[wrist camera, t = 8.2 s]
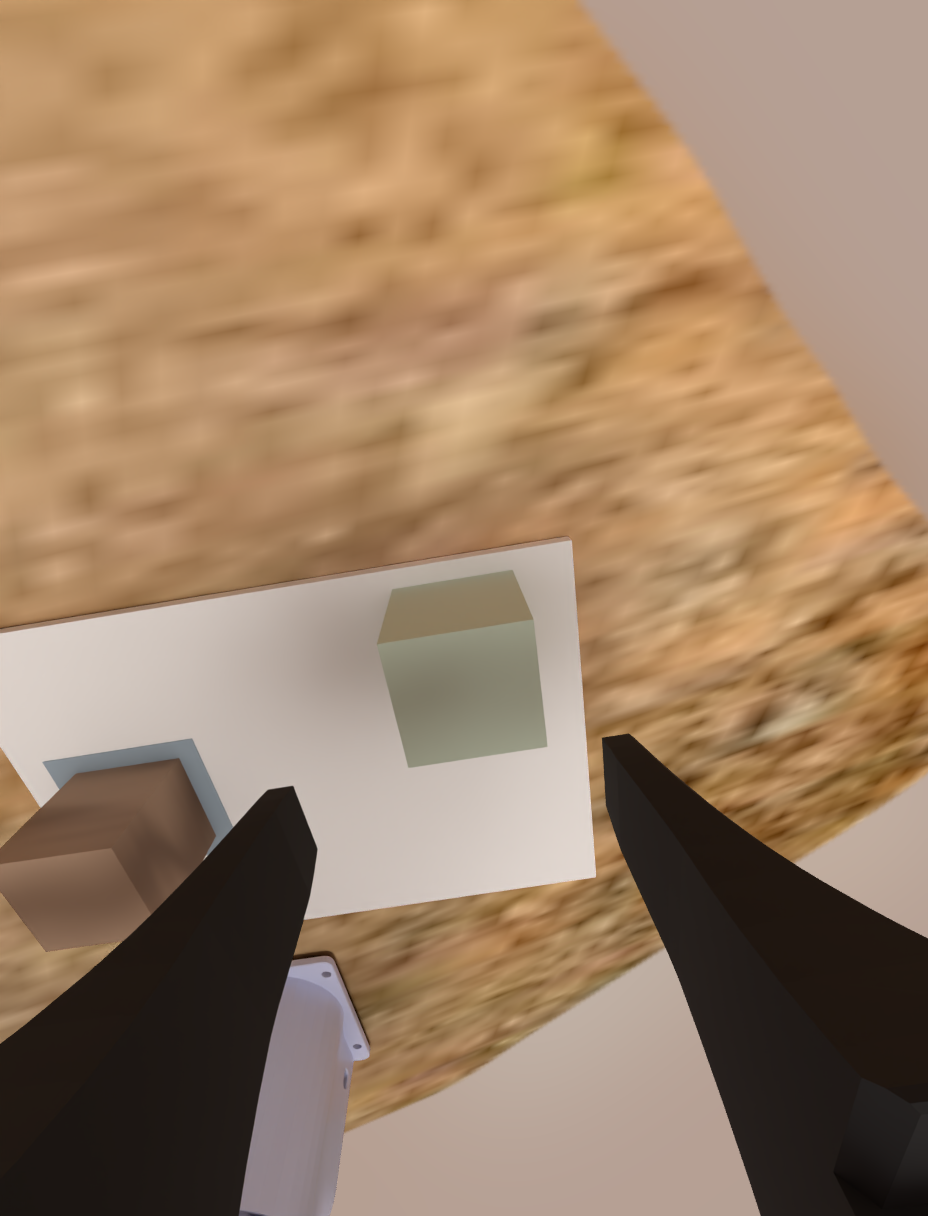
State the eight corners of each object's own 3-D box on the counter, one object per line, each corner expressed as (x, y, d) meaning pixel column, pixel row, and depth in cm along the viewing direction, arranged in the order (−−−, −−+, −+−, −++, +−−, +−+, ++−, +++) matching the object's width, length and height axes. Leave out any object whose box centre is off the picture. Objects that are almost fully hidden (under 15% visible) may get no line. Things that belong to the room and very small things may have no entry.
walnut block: (216, 835, 22) (163, 935, 18) (120, 849, 22) (45, 951, 18) (179, 758, 20) (111, 847, 16) (75, 773, 20) (-19, 866, 16)
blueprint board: (592, 866, 25) (596, 877, 24) (137, 933, 25) (130, 946, 25) (567, 536, 18) (572, 540, 17) (-52, 637, 19) (-69, 645, 18)
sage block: (525, 674, 19) (547, 747, 15) (415, 691, 20) (408, 768, 15) (512, 569, 18) (533, 619, 14) (392, 589, 18) (376, 644, 14)
